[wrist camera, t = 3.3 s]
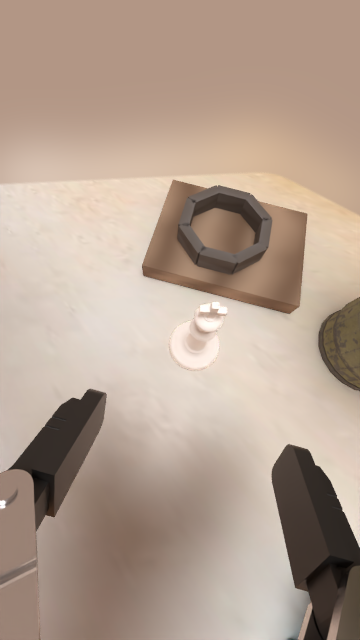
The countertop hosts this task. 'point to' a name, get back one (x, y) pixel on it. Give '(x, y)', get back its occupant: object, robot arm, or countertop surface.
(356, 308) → the thermos
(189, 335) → the chess piece
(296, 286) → the socket board
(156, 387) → the countertop surface
